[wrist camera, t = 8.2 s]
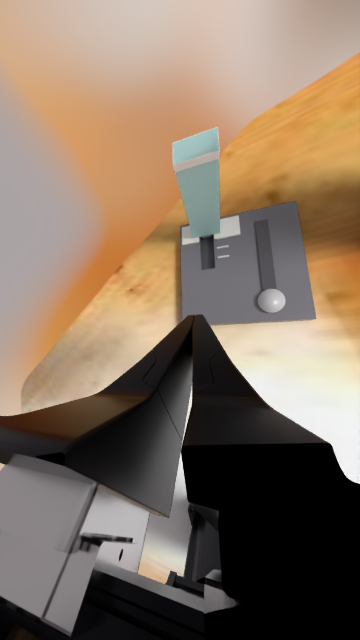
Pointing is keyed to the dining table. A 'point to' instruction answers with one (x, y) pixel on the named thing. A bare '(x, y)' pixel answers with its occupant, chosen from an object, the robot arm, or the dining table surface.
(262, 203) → the dining table surface
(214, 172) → the fader tab
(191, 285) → the console panel
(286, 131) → the dining table surface
